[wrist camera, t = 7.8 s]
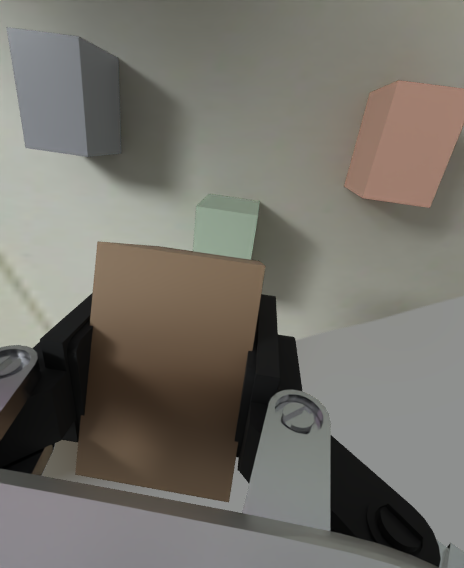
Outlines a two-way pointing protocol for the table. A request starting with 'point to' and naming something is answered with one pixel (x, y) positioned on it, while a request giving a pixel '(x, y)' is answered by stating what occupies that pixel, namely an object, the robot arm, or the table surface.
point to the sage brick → (225, 226)
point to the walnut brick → (167, 367)
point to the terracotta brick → (405, 142)
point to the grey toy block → (66, 93)
